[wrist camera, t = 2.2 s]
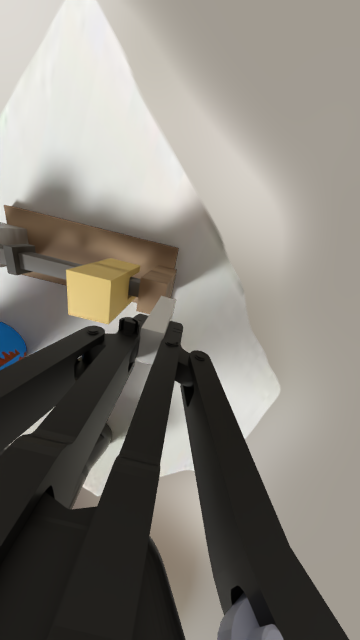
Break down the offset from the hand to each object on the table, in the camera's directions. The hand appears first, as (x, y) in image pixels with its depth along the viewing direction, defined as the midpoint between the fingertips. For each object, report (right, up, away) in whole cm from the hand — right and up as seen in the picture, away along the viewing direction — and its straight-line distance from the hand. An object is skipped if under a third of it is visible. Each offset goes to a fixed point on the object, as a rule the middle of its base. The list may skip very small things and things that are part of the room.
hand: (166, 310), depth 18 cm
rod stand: (-13, +9, +12) cm, 19 cm away
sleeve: (-6, +5, +7) cm, 11 cm away
